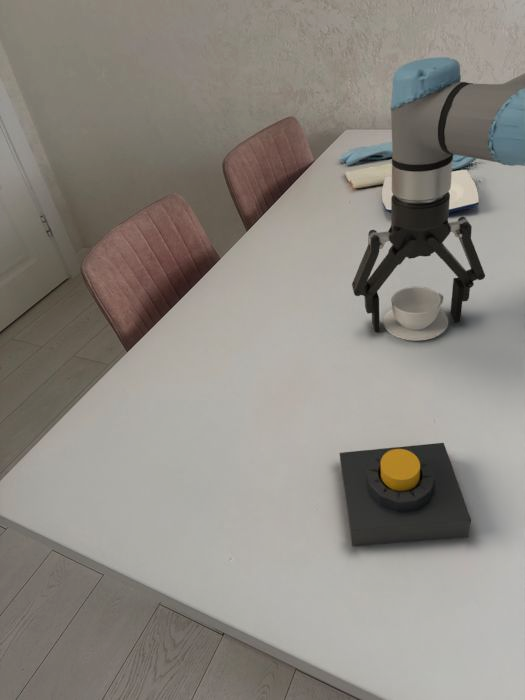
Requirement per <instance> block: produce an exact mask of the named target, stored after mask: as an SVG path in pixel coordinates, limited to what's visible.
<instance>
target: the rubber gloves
mask: <svg viewBox="0 0 525 700" xmlns="http://www.w3.org/2000/svg"><path fill="white" fill-rule="evenodd" d="M389 158H392V141H389V142H382V143H379V144H373V145H370V146H359V147H355V148H351V149H350V150H348V151H347V152H345V153H342V154H341V156H340V158H339V162H340V163H342V164H344V163H345V164H346V166H352V165H354V164H356V163H358V162H359V161H362V160H365V161H367V160H384V159H389ZM476 160H477V158H471V157H466V156H460V155H453V161H452V171H456V170H458V169H461V168H462V169H463V168H465V167H467V166H468V165H470V164H471V163H472V162H475V161H476ZM344 173H345V177H346V179H347V181H348V183H350V185H351V187H352V189H353V190H354V189H361V188H367V187H373V186H378V185H384V181H385V177H392V162H388V163H384V164H380V165H376V166H370V167H365V168H360V169H359V168H358V169H353V170H348V171H345V172H344Z"/></svg>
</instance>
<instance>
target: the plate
mask: <svg viewBox="0 0 525 700" xmlns="http://www.w3.org/2000/svg"><path fill="white" fill-rule="evenodd" d="M391 189H392V177H385V181H384V184H382V189H381V190H382V191H381V202H382V205H383V207H384V209H385V211H386V212H387V213H388V214H391V198H392V196H393V193H392V190H391ZM448 192H449V194H450V201H449V213H454V212H459V211H463V210H467V209H473V208H474V207H476V206H477V205H479V204H480V203H479V192H478V188H477V186H476V184H475V181H474V180H473V178H472V176H471V174H470V173H469V171H468V169H460V170H452V177H451V188H450V190H449V191H448Z"/></svg>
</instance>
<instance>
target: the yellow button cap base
mask: <svg viewBox="0 0 525 700" xmlns="http://www.w3.org/2000/svg"><path fill="white" fill-rule="evenodd" d="M393 449H404V450H408V451H410V452H412V453H413V454H415V455H416V456H417V458H418V459H419V462H420V478H419V482H418V484H417V485H416V486H415V487H414V488H413V489H411V490H408V491H395V490H393V489H390V488H389V487H387V486H386V485H385V484H384V482H383V481H382V478H381V459H382V457H383V455H384V454H385V453H387V452H388V451H390V450H393ZM339 462H340V471H341V479H342V486H343V493H344V499H345V500H344V501H345V507H346V514H347V521H348V528H349V536H350V542H351V546H352V547H355V546H368V545H381V544H382V545H383V544H395V543H407V542H420V541H432V540H447V539H459V538H468V537H469V534H470V530H471V529H470V527H471V523H472V519H471V516H470V513H469V510H468V507H467V505H466V504H467V503H466V501H465V499H464V496H463V493H462V490H461V487H460V484H459V482H458V479H457V477H456V474H455V470H454V468H453V465H452V462H451V459H450V456H449V454H448V450H447V448H446V445H445V443H444V442H437V443H426V444H417V445H416V444H415V445H405V446H394V447H383V448H375V449H367V450H366V449H364V450H355V451H344V452H339Z"/></svg>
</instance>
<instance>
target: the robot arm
mask: <svg viewBox="0 0 525 700" xmlns="http://www.w3.org/2000/svg"><path fill="white" fill-rule="evenodd" d="M461 78H462V74H461V65H460V63H459V61H458V60H457V59H455V58H450V57H443V56H442V57H440V56H438V57H428V58H422V59H421V58H420V59H416V60H413V61H409V62H407V63H405V64H402V65H401V66H400V67H398V68H397V69H396V70H395V72H394V73H393V78H392V93H391V105H390V107H389V108H390V109H389V110H390V117H391V119H390V120H391V122H390V123H391V142H392V157H391V163H392V189H391V190H392V193H393V196H392V198H391V213H390V215H391V217H390V219H391V221H390V222H391V223H390V227H389V229H388V230H387V231H379V232H377V230H375V229H371V230H369V232H368V237H367V238H368V239H367V240H368V241H367V242H368V243H367V247H366V249H365V250H364V254H363V256H362V258H361V261H360V263H359V266H358V268H357V271H356V273H355V275H354V277H353V281H352V283H351V287H352V291H353V294H354V296H355V297H360V296H363V297H364V308H365V312H366V314H371V324H372V327H373V330H374V333H380V296H379V293H378V291H379V290H380V289H381V288H382V286H383V285H384V284H385V282H386V281H387V280H388V278H389V277H390V276H391V275H392V273H393V272H394V270H396V268H397V267H398V266H400V265H402V263H403V262H404V261H405V259H406V258H408V260H410V259H415V258H418V257H431V256H432V254H434V253H435V254H436V256H438V257H439V258H440V259H441V260H442V261H443V263H445V265H446V266H447V267H448V268H449V269H450V270H451V271H452V272H453V274H455V276H456V277H453V279H452V291H451V302H450V312H449V313H450V315H451V317H452V319H453V320H454V323H461V319H462V308H463V302H468V301H469V298H470V292H471V289H472V288H473V287H474V286H475V284H474V283H475V281H477V280H478V281H482V280H484V279H485V278H486V274H485V271H484V268H483V266H482V263H481V260H480V258H479V256H478V253H477V251H476V248H475V245H474V243H473V239H472V229H473V227H472V225H471V223H470V222H469V221H468V218H466V217H465V216H461V217H458V219H457V220H456V221H451V222H449V215H450V212H449V201H450V194H449V192H448V191H449V190H450V188H451V177H452V172H453V170H452V161H453V155H460V156H466V157H471V158H476V160H477V159H478V160H483V161H489V162H493V163H499V164H501V165H503V166H510V167H512V166H513V167H515V166H519V167H521V166H522V167H525V73H522V74H520V75H518V76H516V77H514V78H512V79H510V80H508V81H507V82H503V83H473V82H468V81H467V82H466V81H461ZM451 233H453V235H454V237H456V238H458V240H459V243H460V244H461V248H462V249H463V252H464V254H465V257H466V260H467V263H468V265H469V267H470V269H468V270H466V268H464V266H463V265H462V264H461V263H460V262H459V261H458V259H457V258H456V257H455V256H454V255H453V253H452V252H451V251H450V250H448V248H447V247H446V246H445V244H444V242H445V240H446V239H447V238H448V237H449V236H450V234H451ZM387 242H389V243H391V246H390V247H389V249H388V253H387V254H386V255H385V256H384V258H383V259H382V260H381V262H380V263H379V265H378V266H376V267H377V268H376V269H375V270H374V272H373V273H372V271H373V269H374V266H375V264H376V262H377V259H378V257H379V255H380V250H382V249H383V248H384V247H385V244H386V243H387ZM371 273H372V274H371Z"/></svg>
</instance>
